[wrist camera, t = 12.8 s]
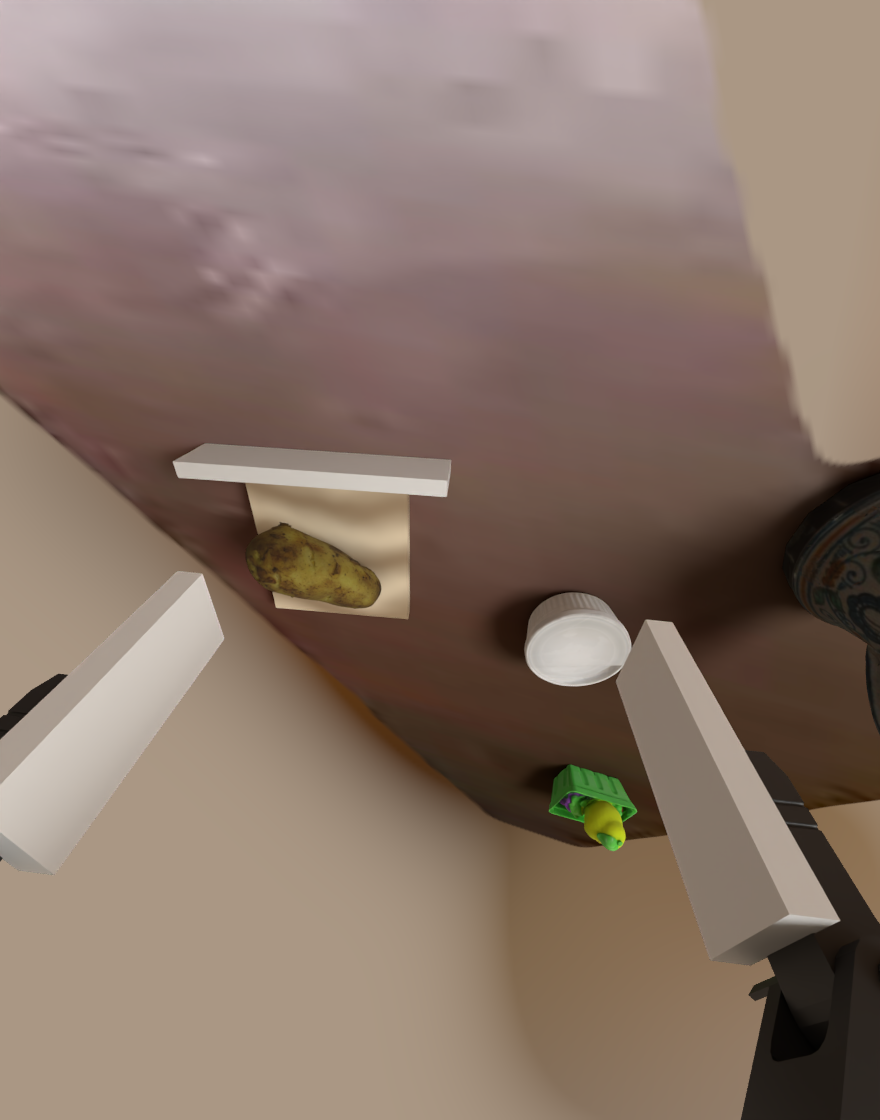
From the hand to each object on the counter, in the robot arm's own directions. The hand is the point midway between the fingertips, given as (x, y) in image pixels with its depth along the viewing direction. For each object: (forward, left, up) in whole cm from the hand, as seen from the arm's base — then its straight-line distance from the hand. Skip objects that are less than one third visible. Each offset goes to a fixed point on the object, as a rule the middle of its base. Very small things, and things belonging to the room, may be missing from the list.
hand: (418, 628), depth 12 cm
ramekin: (+24, +15, -28) cm, 39 cm away
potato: (+15, -13, -27) cm, 33 cm away
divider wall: (+6, -12, -28) cm, 31 cm away
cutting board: (+16, -12, -28) cm, 34 cm away
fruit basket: (+57, +25, -28) cm, 68 cm away
